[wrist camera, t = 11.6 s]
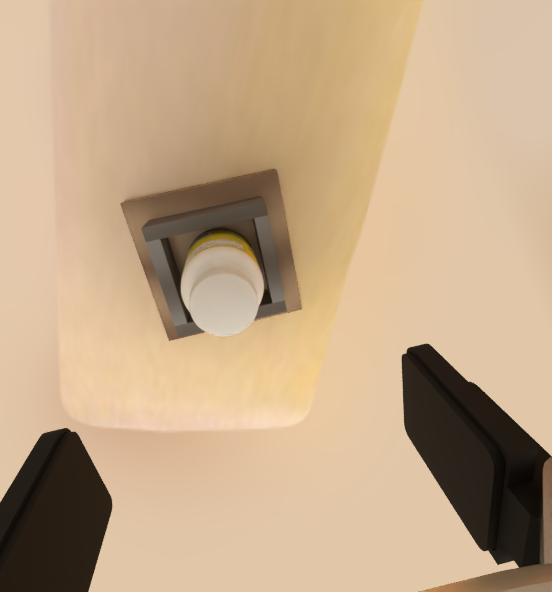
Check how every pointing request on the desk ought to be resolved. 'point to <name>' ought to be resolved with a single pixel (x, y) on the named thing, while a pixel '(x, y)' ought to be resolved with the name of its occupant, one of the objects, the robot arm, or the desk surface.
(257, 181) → the socket stand
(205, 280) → the supplement bottle
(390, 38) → the desk surface
